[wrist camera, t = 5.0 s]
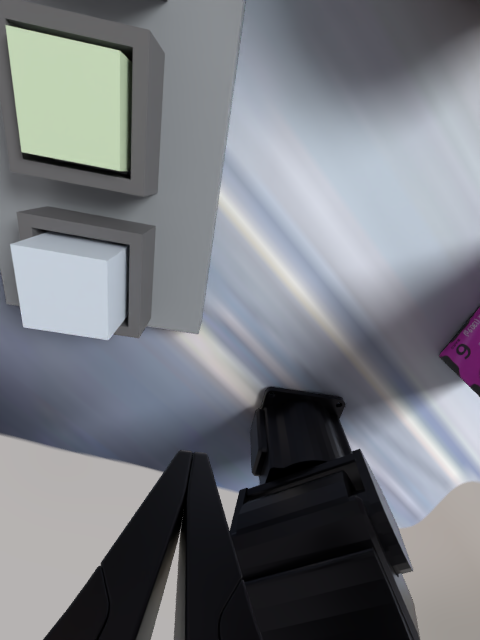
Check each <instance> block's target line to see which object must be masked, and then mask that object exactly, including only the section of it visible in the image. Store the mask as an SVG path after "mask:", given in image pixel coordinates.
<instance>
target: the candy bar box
mask: <svg viewBox="0 0 480 640" xmlns="http://www.w3.org/2000/svg"><path fill="white" fill-rule="evenodd" d="M439 357H440V358H441V359H442V360H443V361H444V362H445V363H446V364H447V365H448V366H449V367H450V368H451V369H452V370H453V371H454V372H455V373H456V374H457V375H458V376H459V377H460V378H461V379H462V380H463V381H464V382H465V383H466V384H467V385H468V386H469V387H470V388H471V389H472V390H473V391H475V392H476V393H477V394H478V396H479V397H480V307H479V309H478V310H477V311H476V312H475V313H474V315H473V316H472V317H471V318H470V319H469V320H468V322H467V323H466V324H465V325H464V326H463V328H462V329H461V330H460V331H459V332H458V334H457V335H456V336H455V337H454V338H453V339H452V340H451V342H450V343H449V344H448V345H447V347H446V348H445V349H444V350H443V351H442V352H441V354H440V355H439Z"/></svg>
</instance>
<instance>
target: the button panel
mask: <svg viewBox="0 0 480 640" xmlns="http://www.w3.org/2000/svg"><path fill="white" fill-rule="evenodd" d="M245 4H246V0H0V269H1V275H2V280H3V286H4V291H5V297H6V303H7V304H8V305H15V306H20V303H19V297H18V291H17V284H16V278H15V272H14V266H13V260H12V253H11V247H10V244H12V243H15V242H18V241H21V240H25V239H28V238H31V237H34V236H37V235H40V234H43V233H46V232H49V231H53V232H58V233H64V234H70V235H75V236H81V237H87V238H92V239H98V240H104V241H109V242H115V243H121V244H126V245H130V260H129V315H128V316H127V317H126V318H125V320H124V321H123V322H122V324H121V325H120V326H119V327H118V329H117V330H116V331H115V332H114V334H115V335H121V336H128V337H134V338H140V336H141V334H142V333H143V331H144V329H145V328H146V326H148V327H155V328H161V329H168V330H174V331H180V332H187V333H193V334H199V330H200V326H201V322H202V317H203V309H204V302H205V295H206V287H207V280H208V273H209V266H210V258H211V251H212V244H213V237H214V229H215V222H216V215H217V207H218V200H219V193H220V186H221V178H222V171H223V164H224V156H225V149H226V142H227V135H228V127H229V120H230V113H231V106H232V98H233V91H234V84H235V76H236V69H237V62H238V55H239V47H240V40H241V33H242V25H243V18H244V11H245ZM5 25H8V26H12V27H17V28H21V29H26V30H30V31H35V32H39V33H43V34H48V35H52V36H57V37H61V38H66V39H70V40H75V41H79V42H84V43H88V44H93V45H97V46H102V47H106V48H111V49H115V50H119V51H121V52H122V53H123V54H124V55H125V56H126V57H127V58H128V59H129V60H130V61H131V62H132V63H133V69H132V133H131V171H116V170H111V169H106V168H101V167H96V166H91V165H86V164H80V163H75V162H70V161H65V160H60V159H55V158H49V157H44V156H39V155H34V154H29V153H24V152H21V144H20V137H19V129H18V121H17V113H16V105H15V97H14V89H13V81H12V73H11V65H10V57H9V50H8V42H7V34H6V26H5Z"/></svg>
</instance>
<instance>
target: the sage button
mask: <svg viewBox="0 0 480 640" xmlns="http://www.w3.org/2000/svg"><path fill="white" fill-rule="evenodd" d="M5 26H6V34H7V42H8V50H9V57H10V65H11V73H12V81H13V89H14V97H15V105H16V113H17V121H18V129H19V137H20V144H21V152H24V153H29V154H34V155H39V156H44V157H49V158H55V159H60V160H65V161H70V162H75V163H80V164H86V165H91V166H96V167H101V168H106V169H111V170H116V171H131V133H132V69H133V63H132V62H131V61H130V60H129V59H128V58H127V57H126V56H125V55H124V54H123V53H122V52H121V51H119V50H115V49H111V48H106V47H102V46H97V45H93V44H88V43H84V42H79V41H75V40H70V39H66V38H61V37H57V36H52V35H48V34H43V33H39V32H35V31H30V30H26V29H21V28H17V27H12V26H8V25H5Z"/></svg>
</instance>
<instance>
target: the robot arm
mask: <svg viewBox="0 0 480 640" xmlns="http://www.w3.org/2000/svg"><path fill="white" fill-rule="evenodd" d="M270 393H274V394H272V395H271V394H270ZM337 403H339V404H337ZM344 407H345V402H344V400H343V398H341V397H337V396H330V395H323V394H316V393H309V392H303V391H296V390H289V389H282V388H275V387H269V388H267V389H266V391H265V394H264V398H263V402H262V405H261V409H258V410H256V412H255V416H254V420H253V423H252V427H251V431H250V439H251V468H252V473H253V475H254V476H259V480H260V485H258V486H255V487H252V488H249V489H248V488H245V489H242V490H240V491H239V495H238V499H237V503H236V507H235V512H234V516H233V520H232V524H231V528H230V531H229V528H228V524H227V521H226V517H225V514H224V510H223V507H222V503H221V500H220V496H219V493H218V489H217V486H216V482H215V479H214V475H213V472H212V468H211V465H210V462H209V458H208V455H207V454H206V453H202V452H194V453H192V452H191V451H186V450H180V451H179V452H178V453H177V454H176V456H175V457H174V458H173V460H172V461H171V463H170V464H169V466H168V467H167V468H166V470H165V471H164V473H163V474H162V476H161V477H160V479H159V480H158V481H157V483H156V484H155V486H154V487H153V489H152V490H151V492H150V493H149V494H148V496H147V497H146V499H145V500H144V502H143V503H142V504H141V506H140V507H139V509H138V510H137V512H136V513H135V514H134V516H133V517H132V519H131V521H130V522H129V523H128V525H127V526H126V527H125V529H124V530H123V532H122V533H121V535H120V536H119V537H118V539H117V540H116V542H115V543H114V545H113V546H112V547H111V549H110V550H109V552H108V553H107V555H106V556H105V558H104V559H103V561H102V562H101V566H98V567H97V569H96V570H95V572H94V573H93V575H92V576H91V577H90V579H89V580H88V582H87V583H86V584H85V586H84V587H83V589H82V590H81V591H80V593H79V594H78V595H77V597H76V598H75V599H74V601H73V602H72V604H71V605H70V606H69V608H68V609H67V610H66V612H65V613H64V614H63V615H62V617H61V618H60V619H59V620H58V622H57V623H56V624H55V625H54V627H53V628H52V629H51V630H50V632H49V633H48V634H47V635H46V637H45V638H44V639H43V640H150V639H151V636H152V632H153V629H154V625H155V621H156V618H157V614H158V611H159V607H160V603H161V600H162V596H163V593H164V589H165V585H166V582H167V578H168V574H169V571H170V567H171V563H172V560H173V556H174V553H175V549H176V545H177V542H178V538H179V534H180V543H179V561H178V579H177V594H176V612H175V628H174V640H420V636H419V630H418V624H417V618H416V613H415V606H414V603H413V599H412V597H411V595H410V592H409V590H408V587H407V585H406V583H405V580H404V578H403V575H402V574H403V573H407V572H411V571H413V568H412V565H411V562H410V560H409V557H408V554H407V551H406V548H405V545H404V543H403V540H402V537H401V534H400V531H399V528H398V526H397V523H396V521H395V519H394V517H393V514H392V512H391V510H390V508H389V506H388V503H387V501H386V499H385V497H384V495H383V492H382V490H381V488H380V486H379V484H378V482H377V480H376V479H375V477H374V475H373V473H372V471H371V469H370V467H369V465H368V463H367V461H366V459H365V457H364V455H363V453H362V451H361V450H360V449H358V450H355V451H351V448H350V446H349V443H348V440H347V438H346V435H345V433H344V430H343V428H342V425H341V423H340V420H339V419H340V416H341V414H342V412H343V409H344ZM181 524H182V525H181ZM180 529H181V533H180Z"/></svg>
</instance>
